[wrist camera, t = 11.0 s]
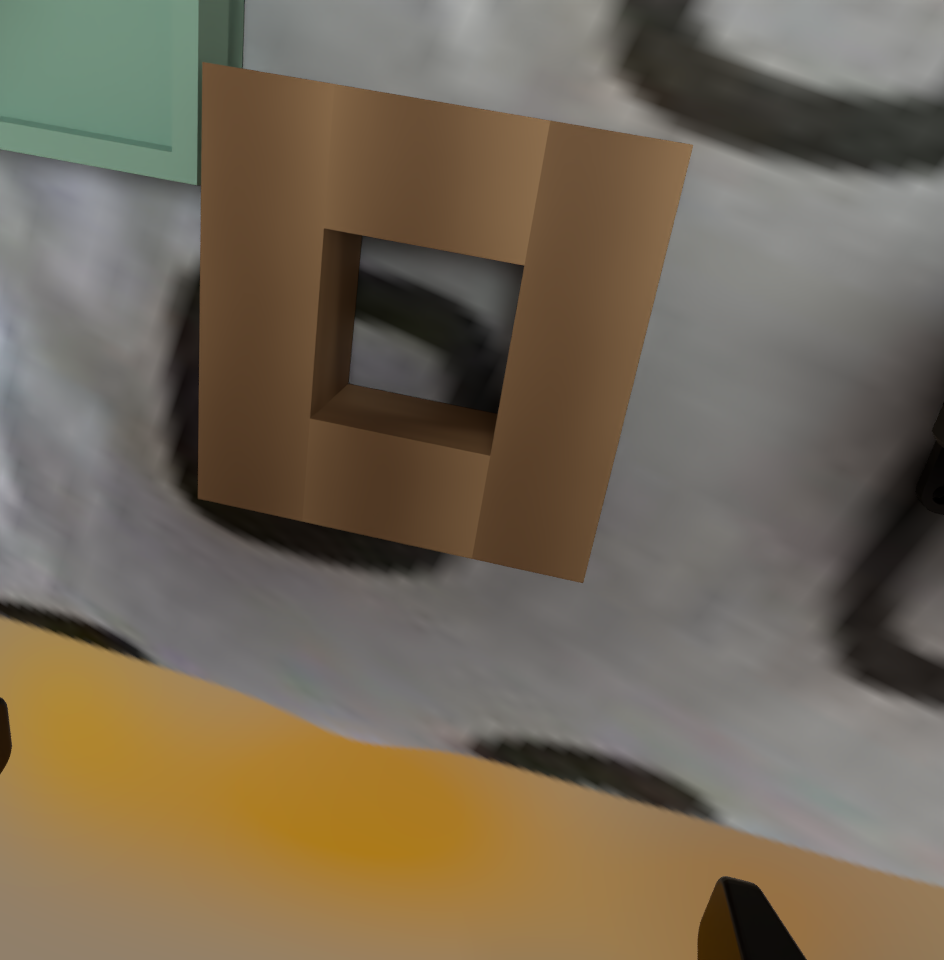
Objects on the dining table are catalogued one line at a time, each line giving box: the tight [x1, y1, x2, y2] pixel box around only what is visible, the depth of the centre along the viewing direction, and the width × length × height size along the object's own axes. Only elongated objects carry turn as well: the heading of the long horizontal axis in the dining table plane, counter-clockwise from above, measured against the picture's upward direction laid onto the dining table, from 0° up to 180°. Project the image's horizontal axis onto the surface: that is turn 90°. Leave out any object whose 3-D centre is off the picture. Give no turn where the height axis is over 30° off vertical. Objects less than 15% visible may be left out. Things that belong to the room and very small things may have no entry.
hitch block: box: [198, 62, 693, 583], centre depth 19 cm, size 10×10×3 cm
